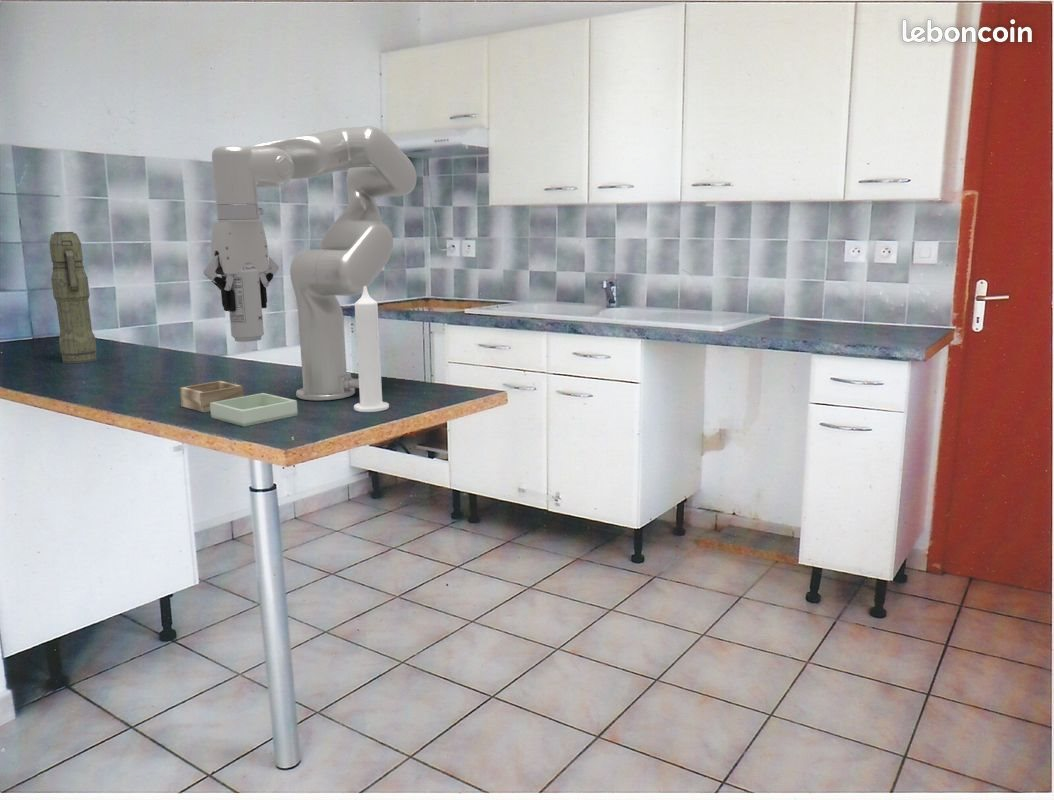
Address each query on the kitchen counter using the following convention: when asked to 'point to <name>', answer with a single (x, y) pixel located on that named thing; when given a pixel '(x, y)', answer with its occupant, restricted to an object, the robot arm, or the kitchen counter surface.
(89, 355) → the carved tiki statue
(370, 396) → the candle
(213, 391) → the wooden square frame
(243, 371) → the kitchen counter surface
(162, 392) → the kitchen counter surface
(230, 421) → the tray
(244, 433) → the kitchen counter surface
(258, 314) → the energy drink can
